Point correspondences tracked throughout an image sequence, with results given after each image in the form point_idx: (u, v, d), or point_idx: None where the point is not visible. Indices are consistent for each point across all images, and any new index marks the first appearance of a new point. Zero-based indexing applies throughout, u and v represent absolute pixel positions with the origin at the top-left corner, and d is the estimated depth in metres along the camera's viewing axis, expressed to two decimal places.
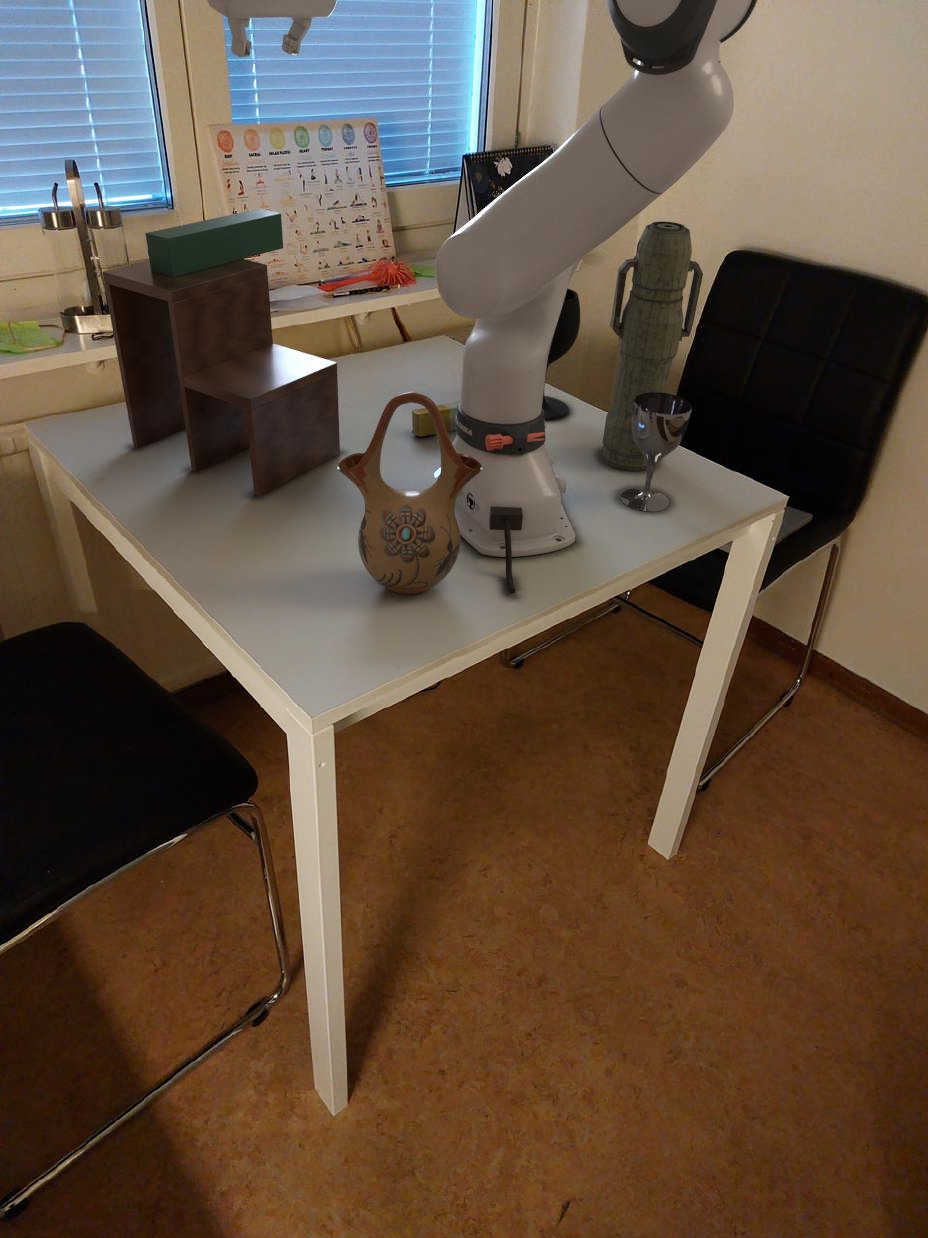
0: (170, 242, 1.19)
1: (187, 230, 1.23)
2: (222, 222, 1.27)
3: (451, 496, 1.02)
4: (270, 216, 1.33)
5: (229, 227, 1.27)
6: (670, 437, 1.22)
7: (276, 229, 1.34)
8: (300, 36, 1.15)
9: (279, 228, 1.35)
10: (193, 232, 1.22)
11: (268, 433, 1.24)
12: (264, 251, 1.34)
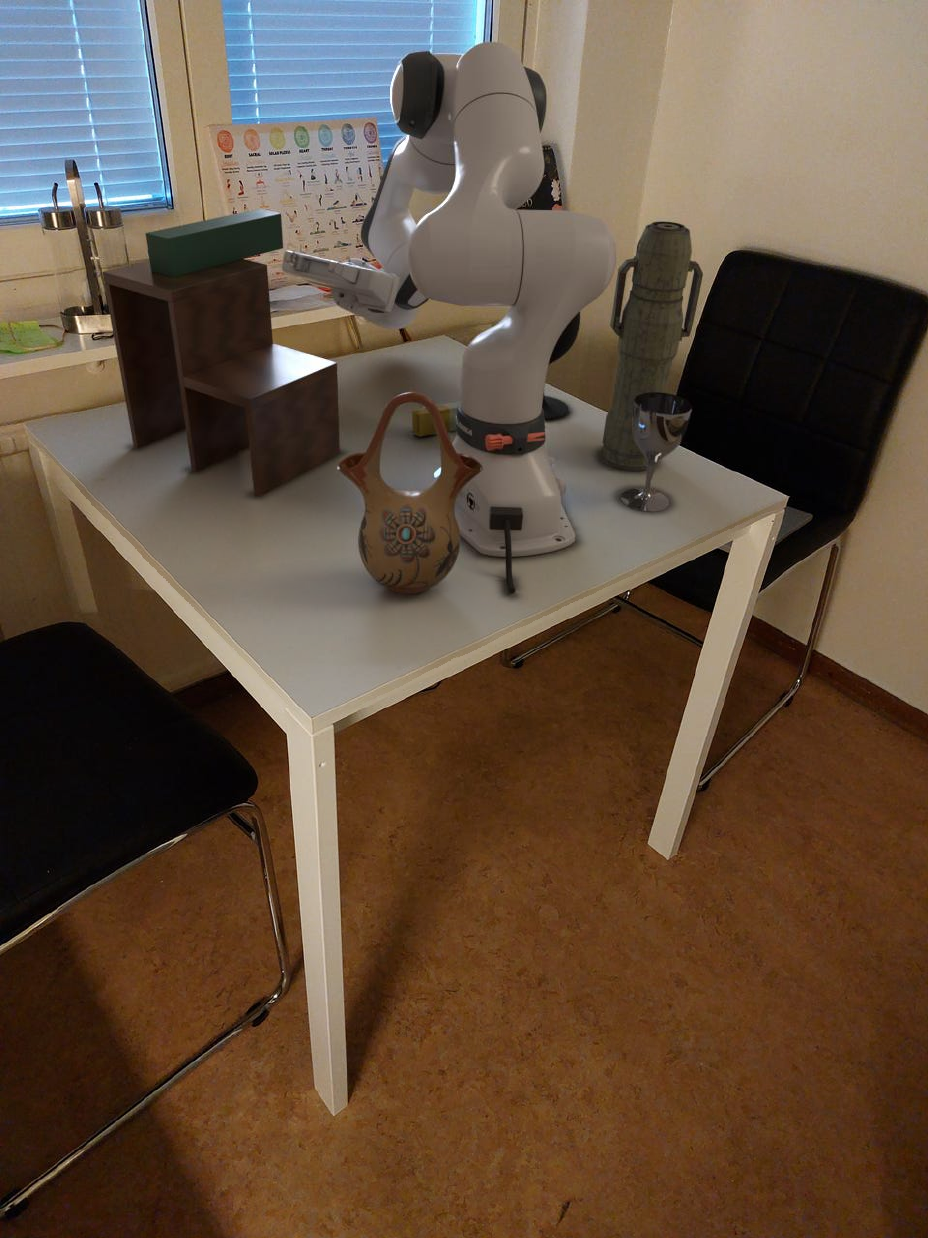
0: (170, 242, 1.19)
1: (187, 230, 1.23)
2: (222, 222, 1.27)
3: (451, 496, 1.02)
4: (270, 216, 1.33)
5: (229, 227, 1.27)
6: (670, 437, 1.22)
7: (276, 229, 1.34)
8: (343, 265, 1.46)
9: (279, 228, 1.35)
10: (193, 232, 1.22)
11: (268, 433, 1.24)
12: (264, 251, 1.34)
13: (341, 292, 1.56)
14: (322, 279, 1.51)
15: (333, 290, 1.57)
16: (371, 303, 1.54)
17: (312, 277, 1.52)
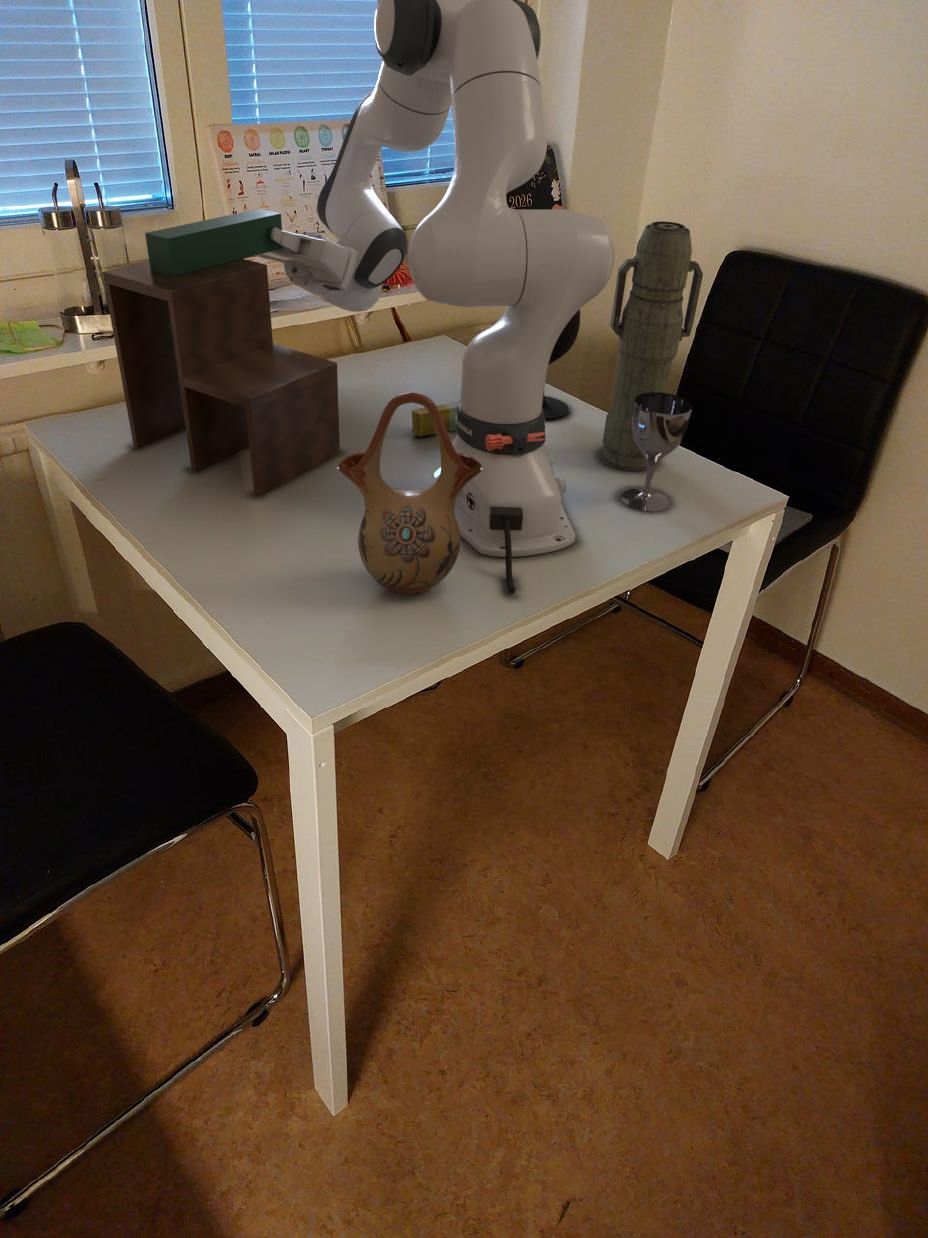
0: (170, 242, 1.19)
1: (187, 230, 1.23)
2: (222, 222, 1.28)
3: (451, 496, 1.02)
4: (270, 216, 1.33)
5: (229, 227, 1.27)
6: (670, 437, 1.22)
7: None
8: (283, 232, 1.34)
9: (278, 227, 1.35)
10: (193, 232, 1.22)
11: (268, 433, 1.24)
12: (264, 251, 1.34)
13: (294, 267, 1.44)
14: (272, 251, 1.39)
15: (286, 265, 1.44)
16: (326, 278, 1.42)
17: None
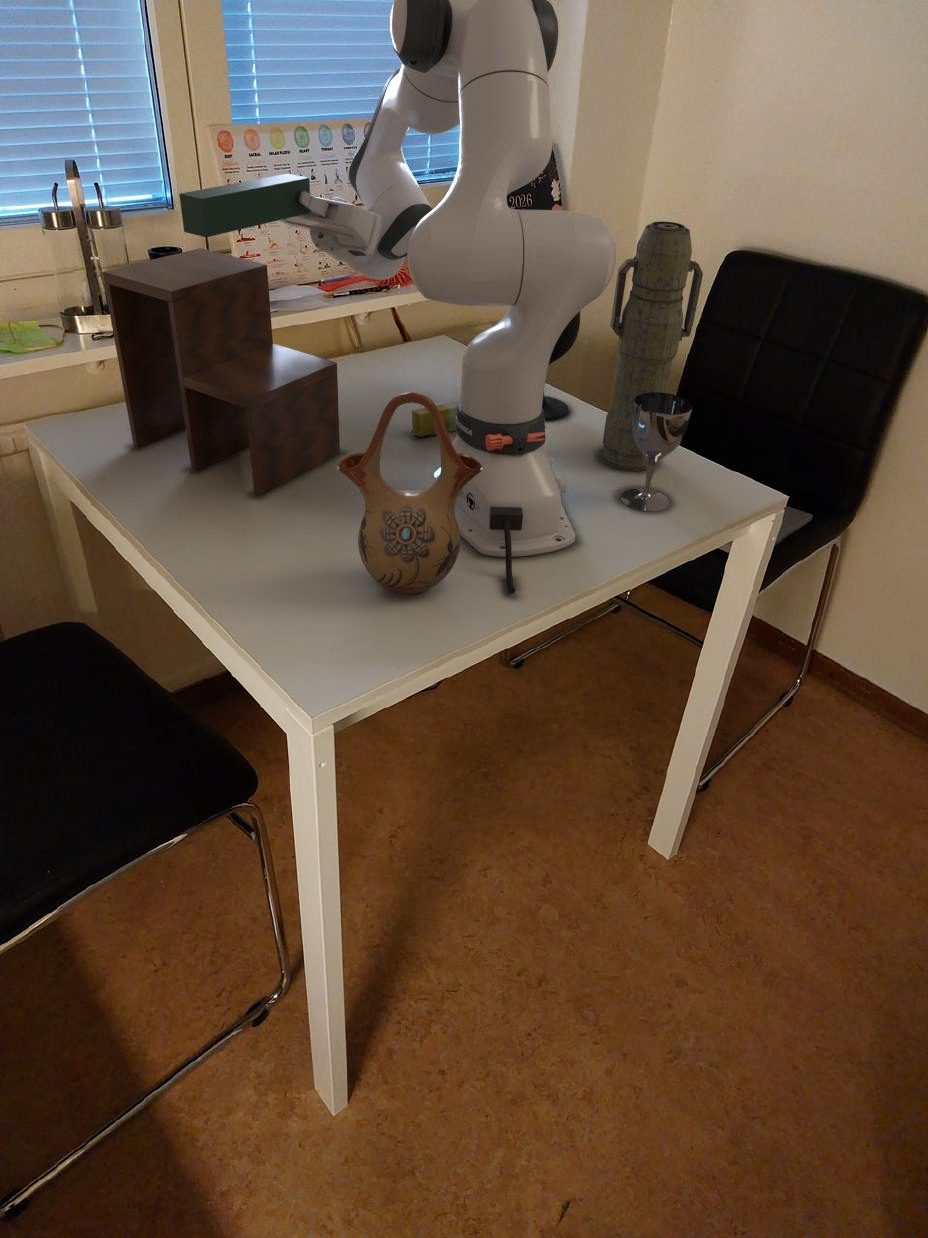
0: (204, 202, 1.22)
1: (219, 191, 1.25)
2: (253, 185, 1.30)
3: (451, 496, 1.02)
4: (299, 180, 1.35)
5: (260, 189, 1.29)
6: (670, 437, 1.22)
7: None
8: None
9: (307, 192, 1.37)
10: (226, 193, 1.25)
11: (268, 433, 1.24)
12: (293, 215, 1.36)
13: (320, 232, 1.46)
14: (299, 215, 1.41)
15: (312, 230, 1.47)
16: (352, 244, 1.44)
17: None
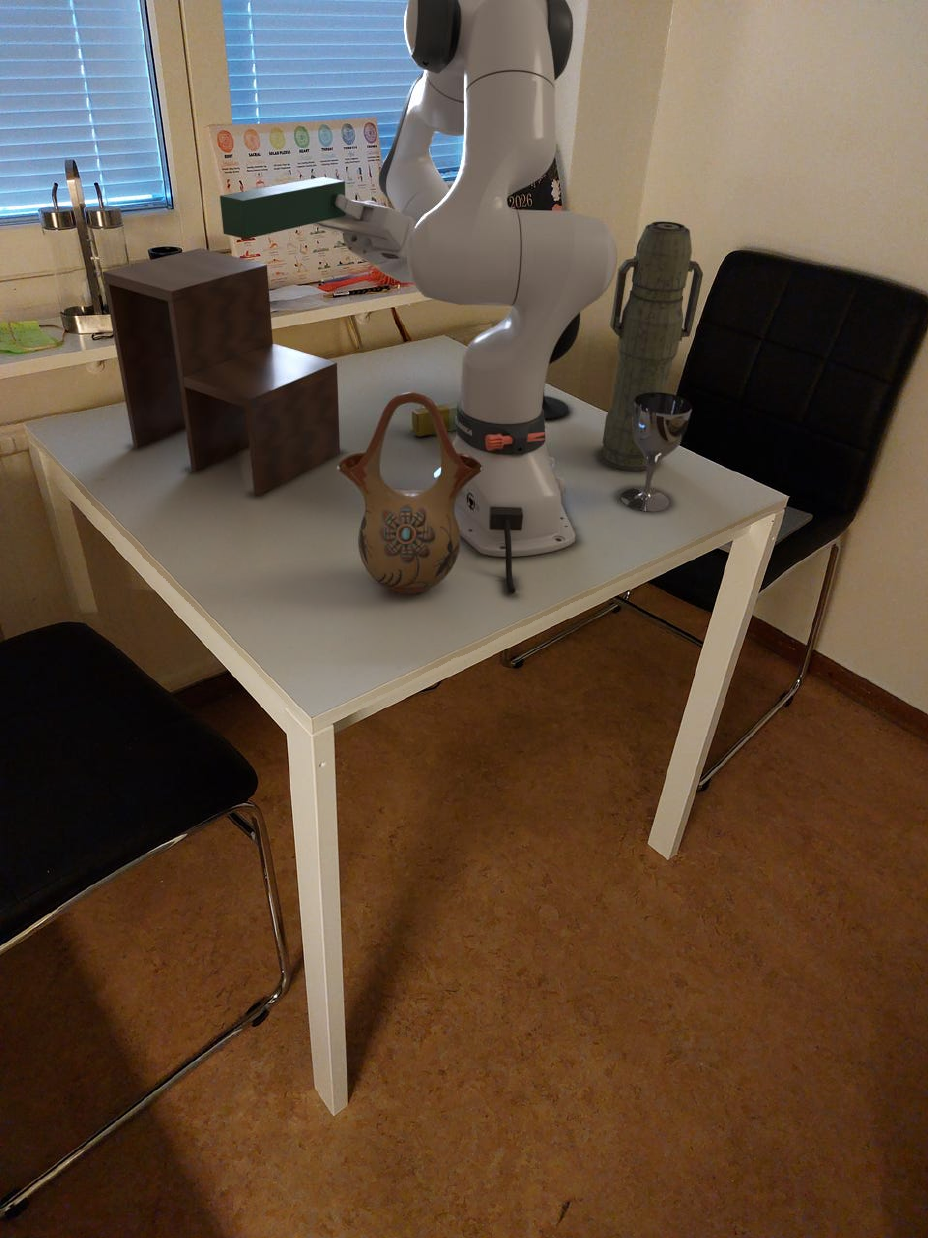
0: (244, 204, 1.23)
1: (259, 194, 1.26)
2: (291, 187, 1.31)
3: (451, 496, 1.02)
4: (335, 183, 1.36)
5: (298, 192, 1.30)
6: (670, 437, 1.22)
7: None
8: None
9: None
10: (265, 195, 1.26)
11: (268, 433, 1.24)
12: (328, 217, 1.37)
13: (354, 235, 1.47)
14: (334, 218, 1.42)
15: (345, 234, 1.48)
16: (385, 246, 1.45)
17: None
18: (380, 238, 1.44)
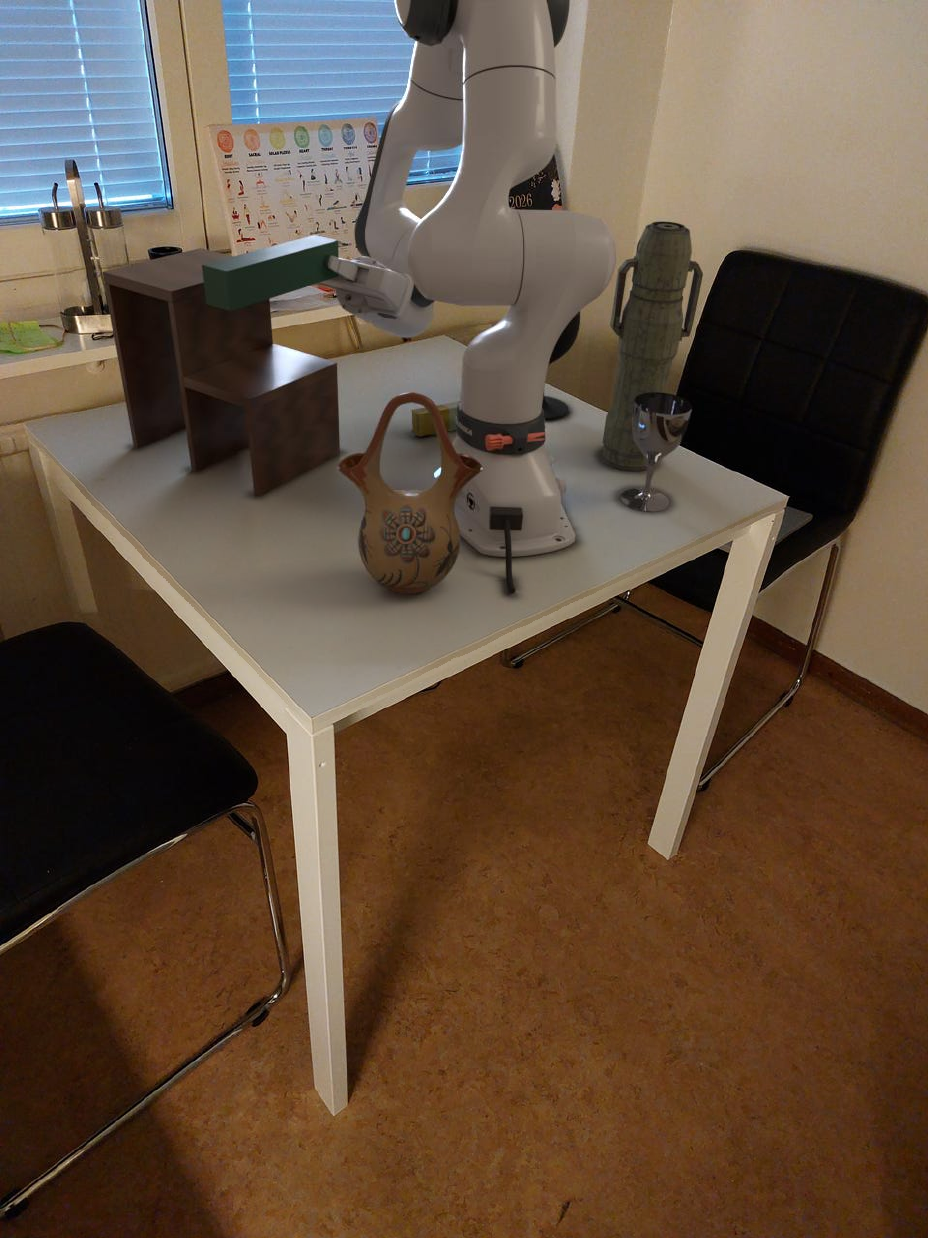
0: (228, 275, 1.13)
1: (244, 261, 1.17)
2: (279, 251, 1.21)
3: (451, 496, 1.02)
4: (327, 243, 1.26)
5: (287, 256, 1.20)
6: (670, 437, 1.22)
7: None
8: (340, 260, 1.28)
9: (335, 255, 1.28)
10: (251, 263, 1.16)
11: (268, 433, 1.24)
12: (320, 280, 1.28)
13: (348, 294, 1.38)
14: None
15: (339, 292, 1.38)
16: (382, 307, 1.35)
17: None
18: (376, 298, 1.35)
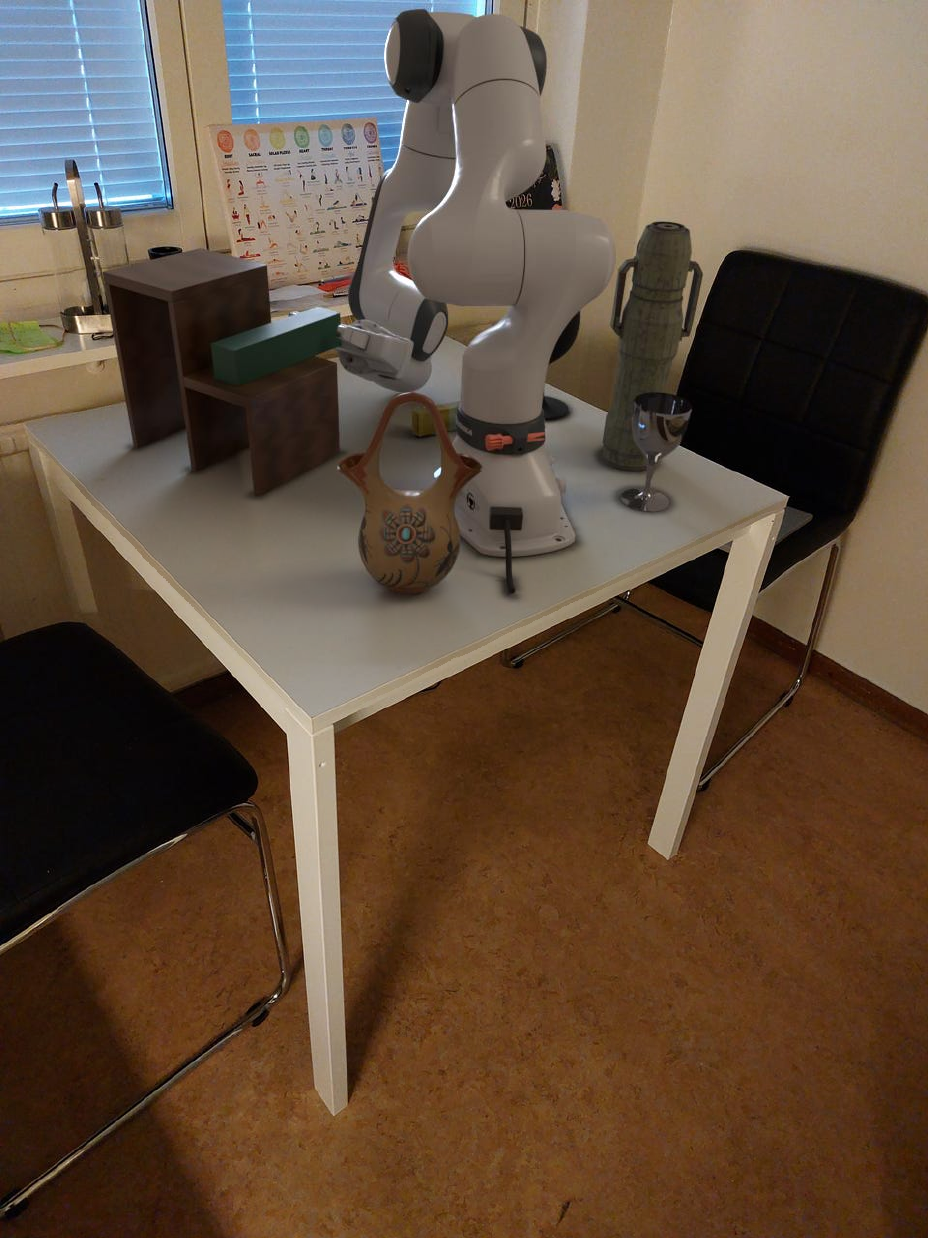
0: (236, 354, 1.19)
1: (251, 338, 1.23)
2: (284, 326, 1.27)
3: (451, 496, 1.02)
4: (330, 316, 1.32)
5: (292, 332, 1.26)
6: (670, 437, 1.22)
7: (335, 328, 1.34)
8: (352, 330, 1.33)
9: (337, 326, 1.34)
10: (257, 341, 1.22)
11: (268, 433, 1.24)
12: (323, 350, 1.34)
13: (349, 356, 1.43)
14: None
15: (341, 354, 1.44)
16: (382, 369, 1.41)
17: None
18: (377, 361, 1.40)
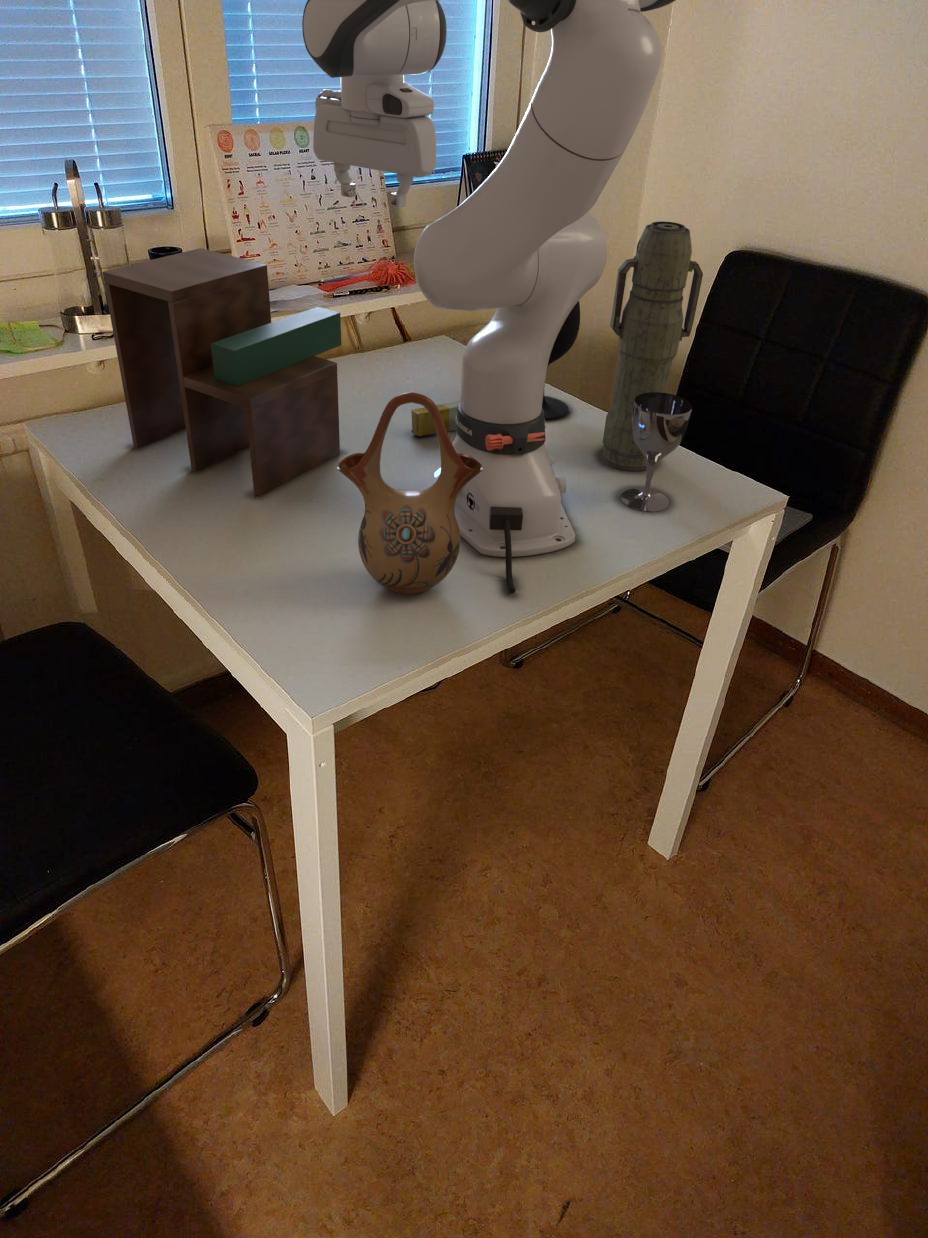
0: (236, 354, 1.19)
1: (251, 338, 1.23)
2: (284, 326, 1.27)
3: (451, 496, 1.02)
4: (330, 316, 1.32)
5: (292, 332, 1.26)
6: (670, 437, 1.22)
7: (335, 328, 1.34)
8: (397, 190, 1.30)
9: (337, 326, 1.34)
10: (257, 341, 1.22)
11: (268, 433, 1.24)
12: (323, 350, 1.34)
13: None
14: None
15: None
16: None
17: None
18: None
